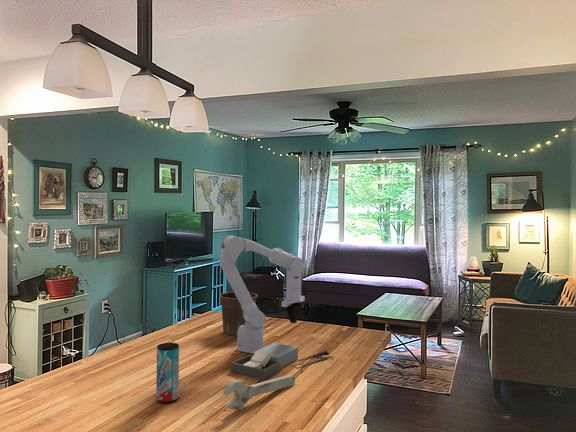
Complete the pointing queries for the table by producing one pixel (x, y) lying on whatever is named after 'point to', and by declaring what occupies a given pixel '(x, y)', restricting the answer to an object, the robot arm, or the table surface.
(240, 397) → the wrench
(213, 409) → the table surface
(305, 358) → the hacksaw
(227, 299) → the plant pot
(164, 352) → the beverage can
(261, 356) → the tile back
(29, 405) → the table surface
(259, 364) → the tile front
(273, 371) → the box
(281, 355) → the gray rectangular block
